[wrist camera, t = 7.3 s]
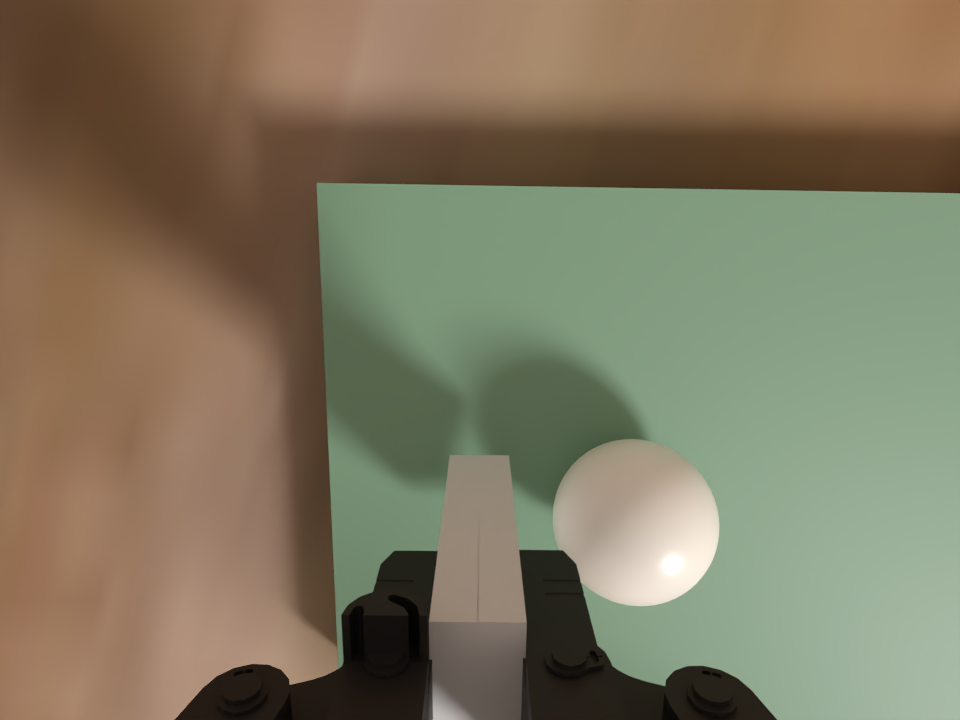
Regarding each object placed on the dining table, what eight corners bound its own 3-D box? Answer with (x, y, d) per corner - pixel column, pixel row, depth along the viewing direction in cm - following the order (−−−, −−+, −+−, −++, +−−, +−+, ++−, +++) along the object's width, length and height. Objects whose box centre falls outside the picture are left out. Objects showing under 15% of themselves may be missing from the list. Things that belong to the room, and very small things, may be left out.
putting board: (356, 662, 22) (340, 719, 20) (338, 185, 18) (316, 182, 16) (1160, 674, 22) (1243, 732, 20) (1313, 200, 18) (1441, 200, 16)
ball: (542, 548, 18) (558, 642, 14) (548, 415, 17) (567, 478, 13) (681, 550, 18) (736, 644, 14) (695, 418, 17) (757, 481, 13)
